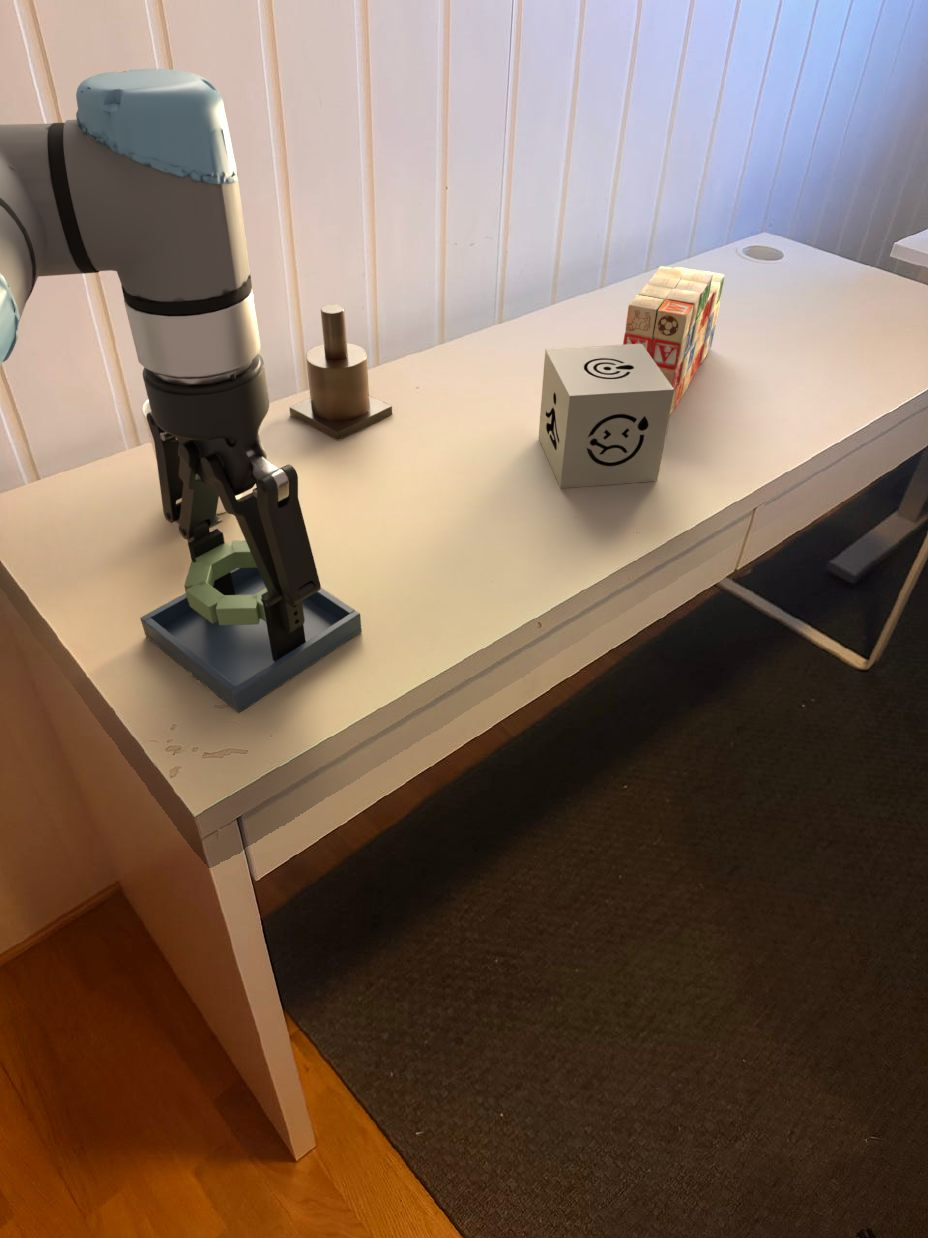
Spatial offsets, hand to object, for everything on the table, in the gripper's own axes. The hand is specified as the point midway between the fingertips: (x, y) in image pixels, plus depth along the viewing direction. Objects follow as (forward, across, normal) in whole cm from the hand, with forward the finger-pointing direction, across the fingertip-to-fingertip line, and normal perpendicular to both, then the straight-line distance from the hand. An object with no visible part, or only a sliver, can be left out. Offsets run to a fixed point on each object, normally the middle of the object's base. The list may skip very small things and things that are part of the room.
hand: (253, 626), depth 71 cm
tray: (+1, 0, 0) cm, 1 cm away
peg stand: (+1, +22, -29) cm, 36 cm away
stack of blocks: (+1, +1, -62) cm, 62 cm away
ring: (-4, 0, 0) cm, 4 cm away
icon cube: (+1, -4, -41) cm, 41 cm away
